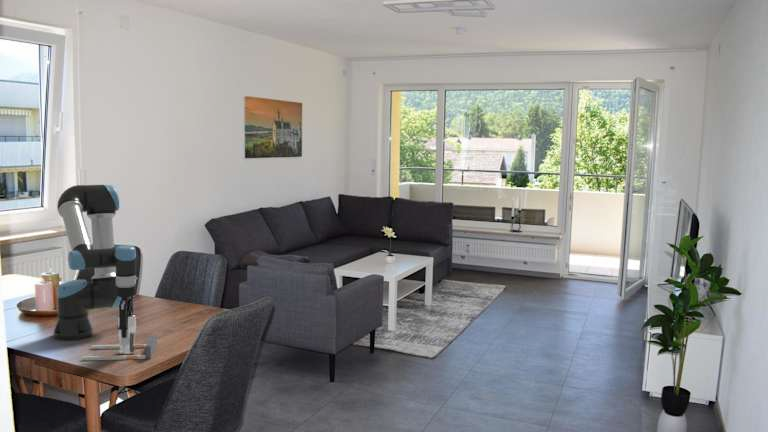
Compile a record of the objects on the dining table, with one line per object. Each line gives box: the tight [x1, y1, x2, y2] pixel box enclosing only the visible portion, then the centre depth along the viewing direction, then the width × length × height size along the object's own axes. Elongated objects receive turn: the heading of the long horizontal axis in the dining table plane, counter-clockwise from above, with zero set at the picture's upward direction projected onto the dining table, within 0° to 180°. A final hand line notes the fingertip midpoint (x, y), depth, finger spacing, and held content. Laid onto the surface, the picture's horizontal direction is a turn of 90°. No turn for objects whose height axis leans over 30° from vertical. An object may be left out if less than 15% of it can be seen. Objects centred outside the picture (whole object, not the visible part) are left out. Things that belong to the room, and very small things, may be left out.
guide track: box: [81, 334, 158, 362], centre depth 253 cm, size 25×14×5 cm, turn 101°
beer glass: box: [116, 312, 137, 355], centre depth 253 cm, size 7×7×15 cm
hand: (127, 341), depth 253 cm, fingers closed on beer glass, 7 cm apart
